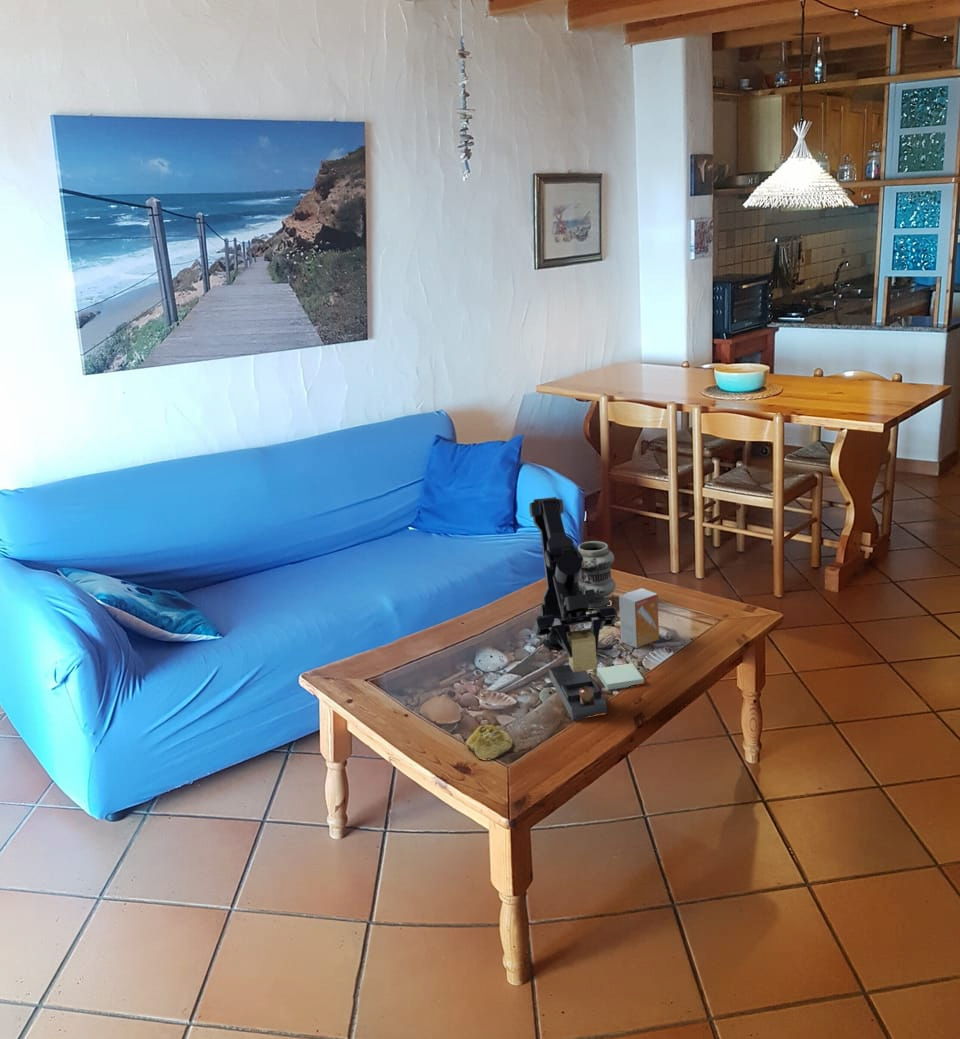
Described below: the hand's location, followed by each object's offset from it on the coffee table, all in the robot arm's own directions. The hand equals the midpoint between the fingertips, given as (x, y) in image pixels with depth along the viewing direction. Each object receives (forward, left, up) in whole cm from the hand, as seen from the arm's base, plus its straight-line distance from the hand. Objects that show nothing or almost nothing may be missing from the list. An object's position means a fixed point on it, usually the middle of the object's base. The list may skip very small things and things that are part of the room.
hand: (583, 655), depth 219 cm
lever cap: (-1, +1, -4) cm, 4 cm away
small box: (-17, +33, -12) cm, 39 cm away
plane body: (-4, +1, -12) cm, 13 cm away
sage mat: (-4, +14, -12) cm, 19 cm away
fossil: (0, -28, -13) cm, 30 cm away
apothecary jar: (-45, +42, -12) cm, 62 cm away
